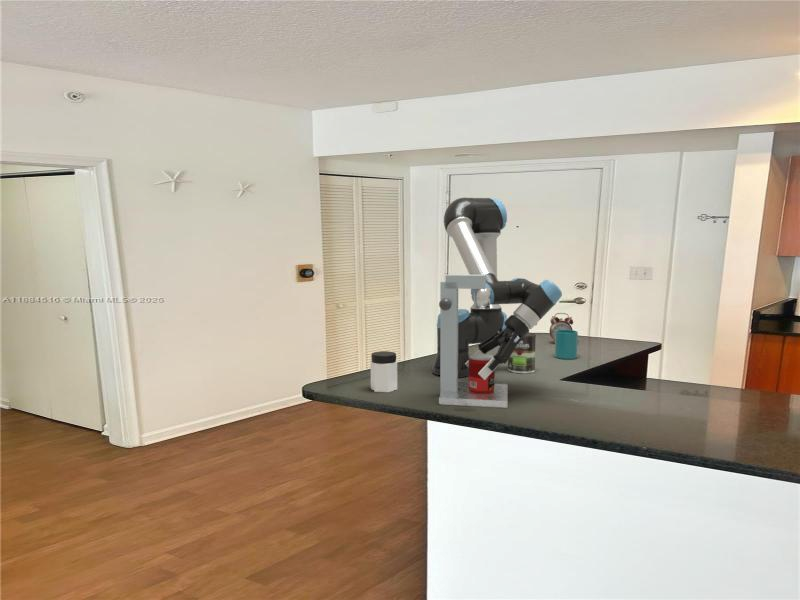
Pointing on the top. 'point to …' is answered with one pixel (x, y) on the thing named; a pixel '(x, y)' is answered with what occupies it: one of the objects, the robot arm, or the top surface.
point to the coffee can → (523, 355)
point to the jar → (383, 371)
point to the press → (449, 384)
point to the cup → (566, 344)
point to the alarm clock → (560, 324)
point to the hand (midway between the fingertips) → (474, 371)
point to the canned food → (475, 379)
